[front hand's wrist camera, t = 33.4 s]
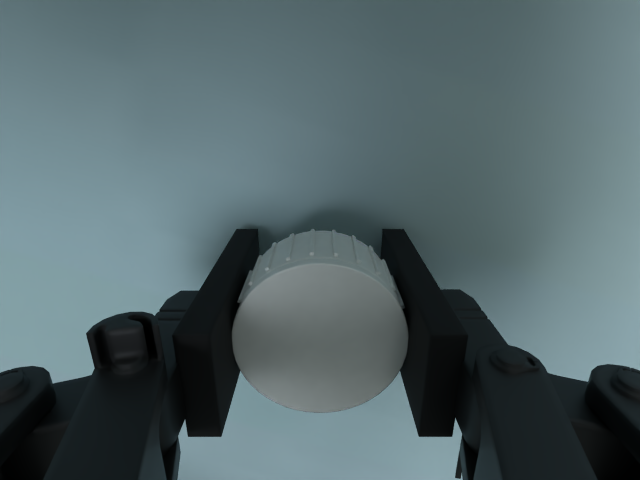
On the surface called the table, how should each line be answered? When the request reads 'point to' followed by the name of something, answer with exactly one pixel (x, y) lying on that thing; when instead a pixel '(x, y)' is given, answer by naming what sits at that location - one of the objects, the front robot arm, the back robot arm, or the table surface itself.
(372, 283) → the lid
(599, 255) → the table surface
